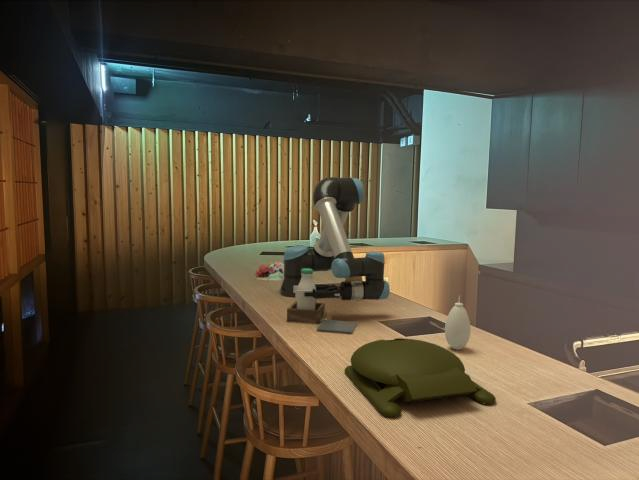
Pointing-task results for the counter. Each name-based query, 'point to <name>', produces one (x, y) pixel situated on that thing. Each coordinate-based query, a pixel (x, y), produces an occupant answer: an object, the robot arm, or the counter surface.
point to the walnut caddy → (306, 314)
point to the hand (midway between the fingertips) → (294, 291)
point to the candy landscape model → (270, 272)
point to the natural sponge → (353, 279)
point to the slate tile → (337, 326)
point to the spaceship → (410, 374)
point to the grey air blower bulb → (457, 327)
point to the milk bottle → (306, 284)
